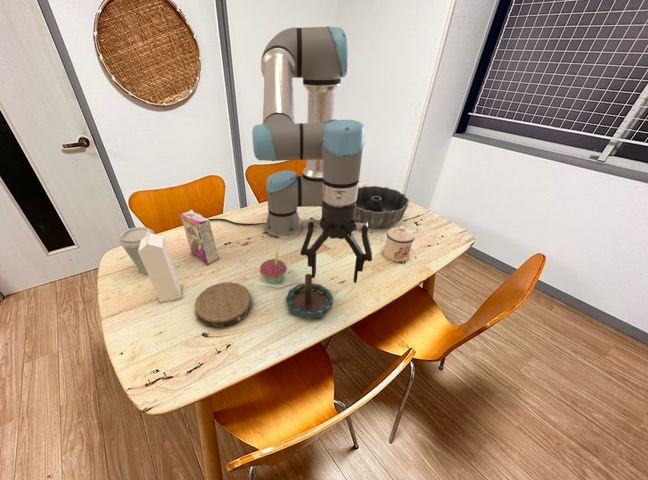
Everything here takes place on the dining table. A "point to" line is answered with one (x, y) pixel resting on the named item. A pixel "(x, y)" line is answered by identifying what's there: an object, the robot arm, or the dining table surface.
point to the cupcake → (273, 270)
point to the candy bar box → (199, 236)
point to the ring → (307, 313)
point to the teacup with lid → (398, 244)
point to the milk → (159, 267)
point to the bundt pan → (380, 206)
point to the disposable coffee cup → (134, 244)
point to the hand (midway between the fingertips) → (334, 277)
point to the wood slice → (223, 305)
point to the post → (308, 298)
